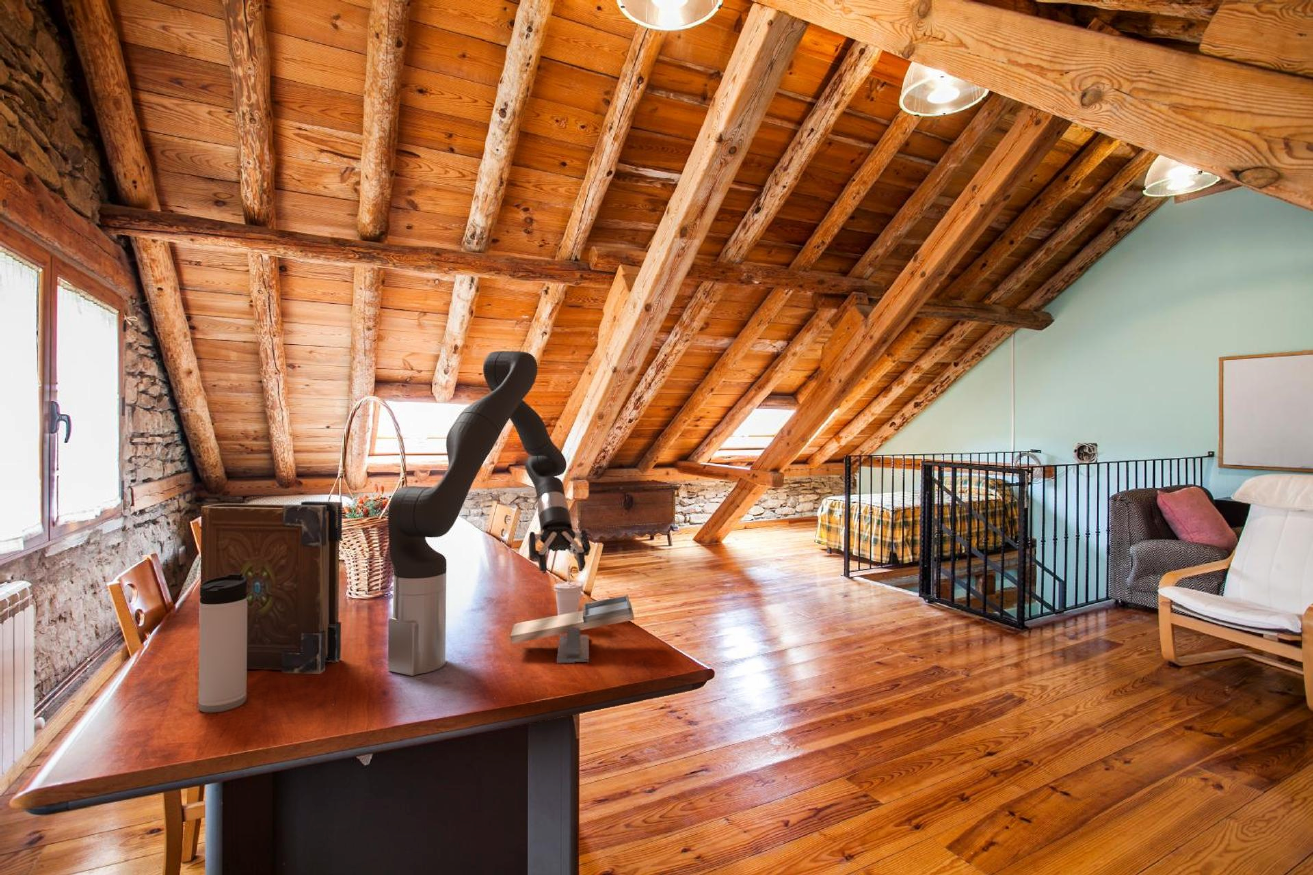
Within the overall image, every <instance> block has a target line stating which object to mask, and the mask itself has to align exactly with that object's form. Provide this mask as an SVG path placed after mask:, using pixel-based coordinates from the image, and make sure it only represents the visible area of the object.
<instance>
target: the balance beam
mask: <svg viewBox="0 0 1313 875" xmlns="http://www.w3.org/2000/svg"><path fill="white" fill-rule="evenodd" d="M634 620H635V616H634V610H633V607H632V602H631V601H630V598H629V595H628V594H627V595H621V596H616V597H611V598H606V599H605V598H604V599H599V600H596V601H590V602H585V603H582V610H578V612H573V613H568V614H563V615H558V614H557V615H553V616H548V617H544V618H543V617H542V618H538V619H532V620H527V621H521V622H518V623H517V622H516V623H514V625H513V627H512V630H511V633H510V635H509V638H510V642H511V645H512V644H518V643H523V642H528V641H532V640H538V639H542V638H548V637H553V636H557V635H559V636H560V635H564V634H567V628H579V627H580V631H583V630H588V629H594V628H599V627H605V626H609V625H614V624H620V623H623V622H624V623H625V622H629V621H634Z"/></svg>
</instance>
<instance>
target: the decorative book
mask: <svg viewBox="0 0 1313 875" xmlns="http://www.w3.org/2000/svg"><path fill="white" fill-rule="evenodd" d="M342 530H343V501H316V500H315V501H310V500H309V501H308V500H307V501H302V502H300V504H286V503H284V504H281V503H280V504H278V503H275V504H274V503H271V504H270V503H216V504H208V505H202V506H200V585H201V584H202V583H204V582H205V581H208V580H211V579H214V578H218V577H224V576H228V575H229V574H242V575H243V576H244V577H246V578H247V591H246V592H247V600H246V601H247V670H248V669H249V670H276V671H277V670H278V671H279V670H281V673H282V674H310V675H311V674H313V675H314V674H315V675H317V674H318V675H319V674H323V673H324V672H325V671H326V663H325V662H332V663H331V664H337V663H338V662H340V661H341V660H342V653H341V652H342V636H341V635H342V621H339V617H340V616H339V614H340V613H339V607H340V605H339V604H340V602H339V600H340V598H339V597H340V594H339V593H340V587H339V586H340V541H342V538H343V531H342ZM339 660H340V661H339ZM336 662H337V663H336Z"/></svg>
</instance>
